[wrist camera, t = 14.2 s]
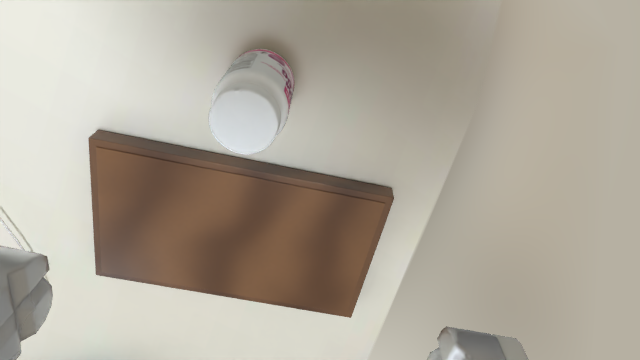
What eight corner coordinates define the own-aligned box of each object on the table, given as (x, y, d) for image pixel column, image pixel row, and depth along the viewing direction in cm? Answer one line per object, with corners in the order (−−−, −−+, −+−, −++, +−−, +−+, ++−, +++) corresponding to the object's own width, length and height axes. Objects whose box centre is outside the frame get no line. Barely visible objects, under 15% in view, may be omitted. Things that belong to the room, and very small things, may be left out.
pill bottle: (307, 91, 32) (301, 137, 25) (254, 121, 33) (234, 174, 26) (271, 34, 30) (253, 66, 23) (217, 68, 31) (183, 110, 24)
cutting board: (391, 187, 36) (394, 198, 35) (350, 305, 43) (351, 318, 42) (98, 129, 34) (87, 138, 32) (103, 263, 41) (95, 275, 39)
